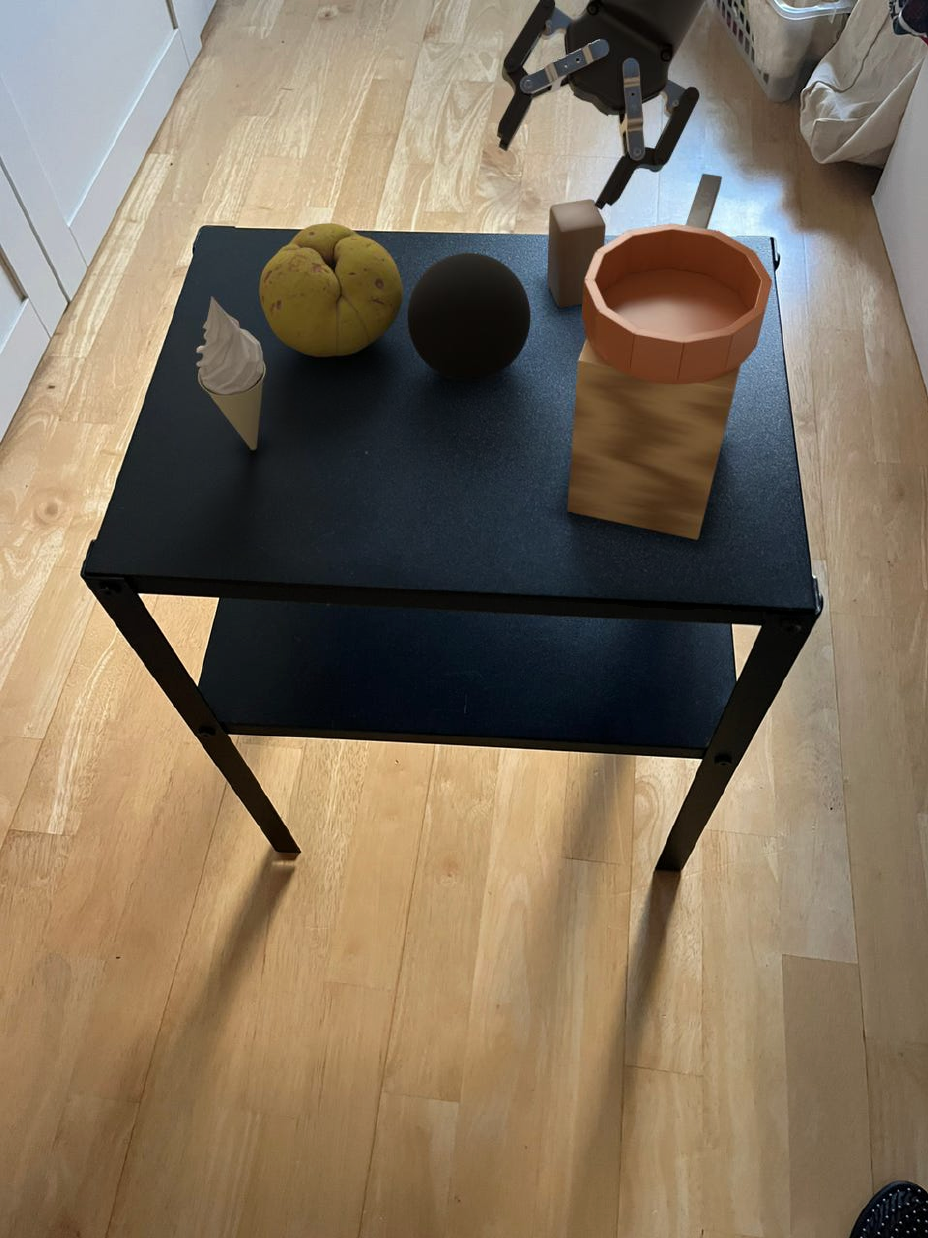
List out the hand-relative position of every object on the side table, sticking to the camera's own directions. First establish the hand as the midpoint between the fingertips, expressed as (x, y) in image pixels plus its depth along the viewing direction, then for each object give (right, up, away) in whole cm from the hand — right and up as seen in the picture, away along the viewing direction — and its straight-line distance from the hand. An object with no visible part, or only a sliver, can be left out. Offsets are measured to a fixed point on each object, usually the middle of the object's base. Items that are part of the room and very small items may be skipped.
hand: (551, 176), depth 79 cm
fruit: (-17, -9, +12) cm, 23 cm away
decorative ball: (-6, -12, +10) cm, 17 cm away
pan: (+8, -12, -9) cm, 17 cm away
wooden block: (+3, -4, +14) cm, 15 cm away
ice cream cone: (-24, -20, +5) cm, 31 cm away
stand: (+7, -23, +2) cm, 24 cm away
